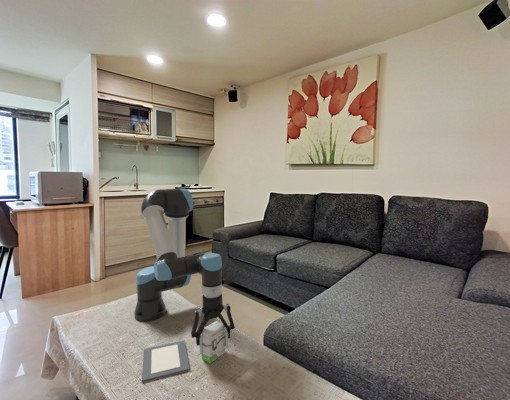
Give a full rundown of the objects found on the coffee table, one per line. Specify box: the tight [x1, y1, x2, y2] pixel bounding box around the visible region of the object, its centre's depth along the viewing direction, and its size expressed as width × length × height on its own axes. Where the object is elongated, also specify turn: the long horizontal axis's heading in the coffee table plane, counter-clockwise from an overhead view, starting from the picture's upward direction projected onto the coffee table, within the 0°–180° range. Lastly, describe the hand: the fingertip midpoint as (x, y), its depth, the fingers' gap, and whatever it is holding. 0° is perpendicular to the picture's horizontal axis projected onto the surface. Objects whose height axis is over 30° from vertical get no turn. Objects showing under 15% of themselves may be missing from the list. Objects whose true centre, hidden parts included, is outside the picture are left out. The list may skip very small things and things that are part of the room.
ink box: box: [201, 320, 226, 364], centre depth 106 cm, size 9×5×12 cm, turn 143°
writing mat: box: [141, 340, 190, 383], centre depth 104 cm, size 18×16×1 cm
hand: (213, 349), depth 106 cm, fingers closed on ink box, 9 cm apart
